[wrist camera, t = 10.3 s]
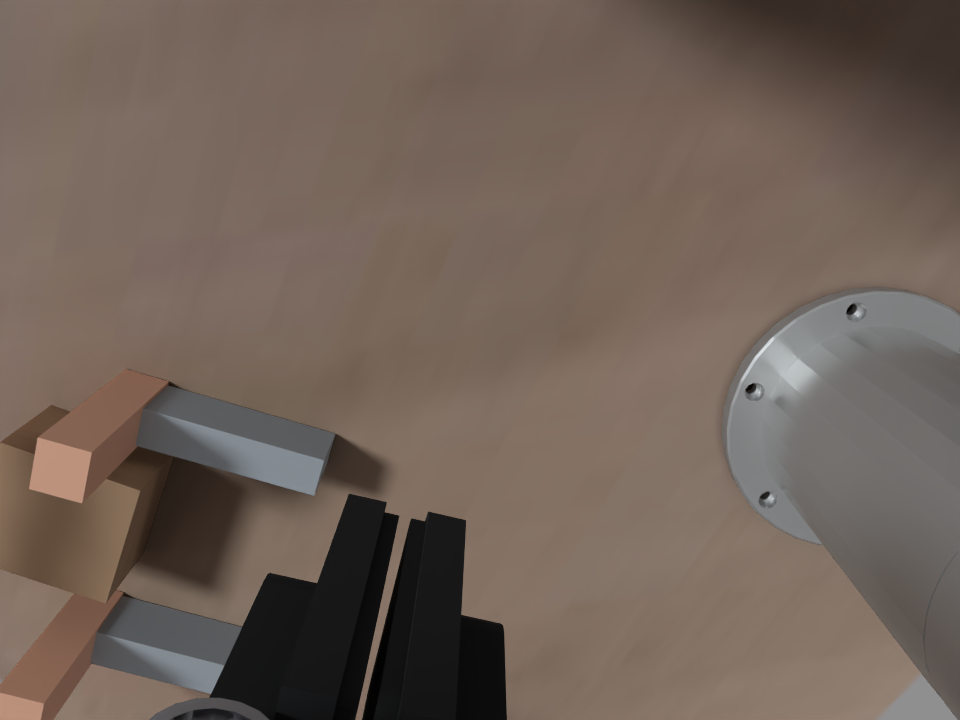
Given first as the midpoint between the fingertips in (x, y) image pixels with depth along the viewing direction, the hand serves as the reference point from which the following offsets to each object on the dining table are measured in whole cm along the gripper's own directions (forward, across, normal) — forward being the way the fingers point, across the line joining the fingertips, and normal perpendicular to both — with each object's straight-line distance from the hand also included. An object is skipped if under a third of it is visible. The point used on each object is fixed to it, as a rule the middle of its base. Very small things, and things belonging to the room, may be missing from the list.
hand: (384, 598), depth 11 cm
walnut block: (+26, +14, +15) cm, 33 cm away
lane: (+26, +8, +16) cm, 32 cm away
